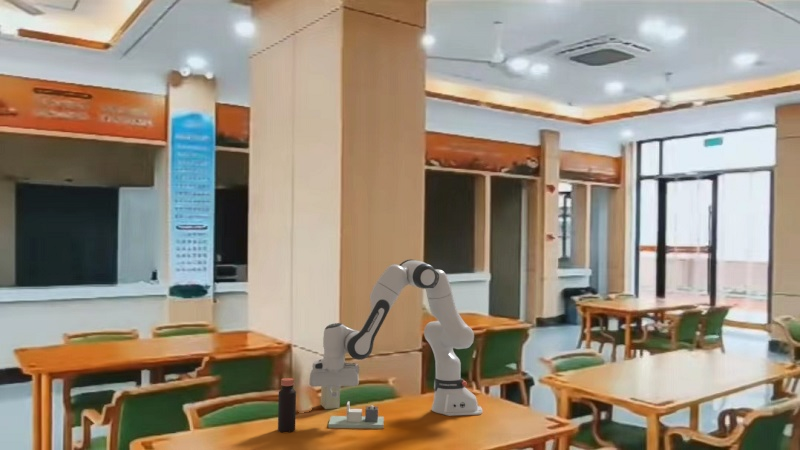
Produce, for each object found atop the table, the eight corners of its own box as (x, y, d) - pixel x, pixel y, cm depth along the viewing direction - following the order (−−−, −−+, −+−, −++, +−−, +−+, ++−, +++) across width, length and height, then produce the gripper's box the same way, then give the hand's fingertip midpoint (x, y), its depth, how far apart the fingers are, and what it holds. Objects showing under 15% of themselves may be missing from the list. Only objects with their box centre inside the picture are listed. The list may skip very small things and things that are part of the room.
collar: (377, 418, 273) (378, 406, 273) (377, 422, 268) (377, 409, 268) (365, 418, 273) (365, 406, 273) (365, 422, 268) (365, 409, 268)
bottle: (276, 428, 262) (277, 378, 263) (293, 427, 265) (294, 377, 265) (279, 433, 256) (280, 381, 256) (296, 432, 259) (297, 380, 259)
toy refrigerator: (341, 408, 295) (342, 360, 296) (325, 409, 293) (326, 361, 293) (336, 403, 303) (337, 357, 303) (320, 405, 300) (321, 358, 300)
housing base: (383, 420, 277) (384, 402, 277) (383, 428, 265) (383, 409, 265) (331, 419, 277) (331, 401, 277) (328, 427, 265) (328, 409, 265)
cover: (362, 418, 273) (362, 401, 273) (361, 421, 268) (361, 404, 268) (347, 418, 273) (347, 401, 273) (346, 421, 268) (346, 404, 268)
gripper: (359, 361, 276) (359, 394, 276) (310, 361, 276) (310, 395, 276) (358, 364, 270) (359, 398, 270) (308, 365, 270) (308, 399, 270)
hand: (334, 396), depth 273 cm, fingers closed
